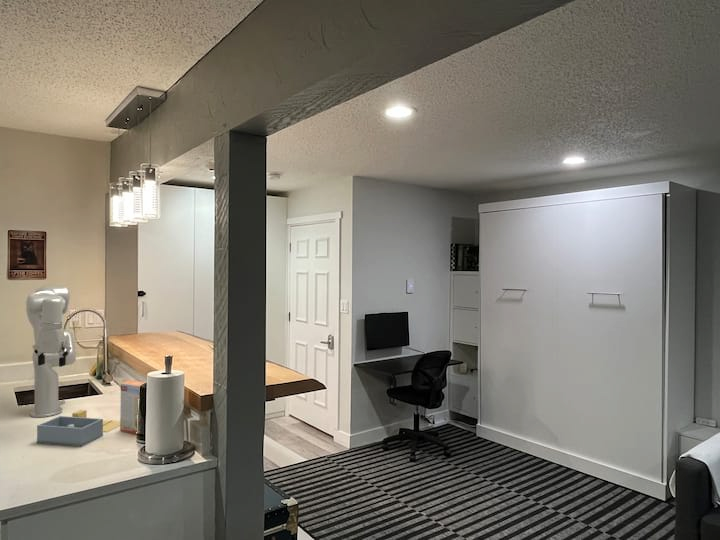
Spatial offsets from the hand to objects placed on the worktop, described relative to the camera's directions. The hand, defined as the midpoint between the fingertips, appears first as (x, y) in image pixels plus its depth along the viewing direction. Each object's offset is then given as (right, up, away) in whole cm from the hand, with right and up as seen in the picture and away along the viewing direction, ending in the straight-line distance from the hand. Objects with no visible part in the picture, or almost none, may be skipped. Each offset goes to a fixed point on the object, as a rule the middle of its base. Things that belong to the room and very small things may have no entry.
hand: (51, 365), depth 210 cm
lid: (+18, -28, +3) cm, 33 cm away
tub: (+16, -28, -13) cm, 35 cm away
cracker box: (+39, -28, -3) cm, 48 cm away
